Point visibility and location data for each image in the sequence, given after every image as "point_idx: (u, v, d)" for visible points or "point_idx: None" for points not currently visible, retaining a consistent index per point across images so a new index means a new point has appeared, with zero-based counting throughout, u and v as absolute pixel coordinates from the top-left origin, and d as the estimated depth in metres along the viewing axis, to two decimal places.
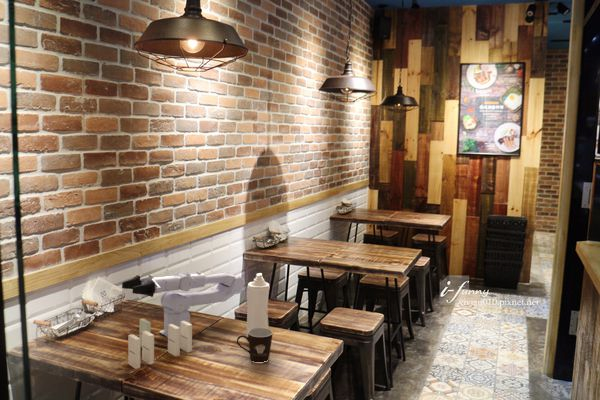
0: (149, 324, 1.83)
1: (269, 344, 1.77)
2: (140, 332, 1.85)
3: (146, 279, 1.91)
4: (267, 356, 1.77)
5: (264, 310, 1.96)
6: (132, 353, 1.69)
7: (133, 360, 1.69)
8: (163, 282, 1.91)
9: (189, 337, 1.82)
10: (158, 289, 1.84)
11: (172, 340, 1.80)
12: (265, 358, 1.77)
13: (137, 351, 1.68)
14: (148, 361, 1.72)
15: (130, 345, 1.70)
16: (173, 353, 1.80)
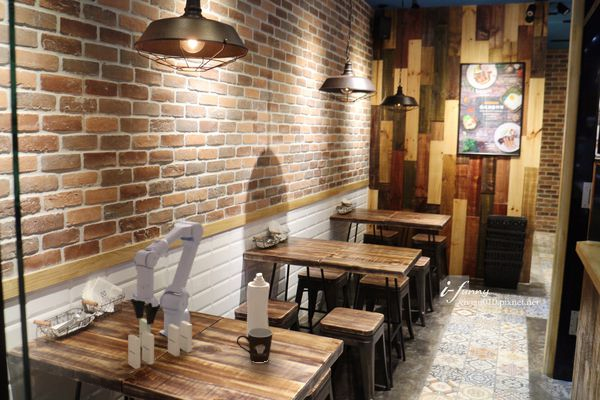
0: None
1: (269, 344, 1.77)
2: (140, 332, 1.85)
3: None
4: (267, 356, 1.77)
5: (264, 310, 1.96)
6: (132, 353, 1.69)
7: (133, 360, 1.69)
8: (145, 288, 1.80)
9: (189, 337, 1.82)
10: (155, 304, 1.78)
11: (172, 340, 1.80)
12: (265, 358, 1.77)
13: (137, 351, 1.68)
14: (148, 361, 1.72)
15: (130, 345, 1.70)
16: (173, 353, 1.80)
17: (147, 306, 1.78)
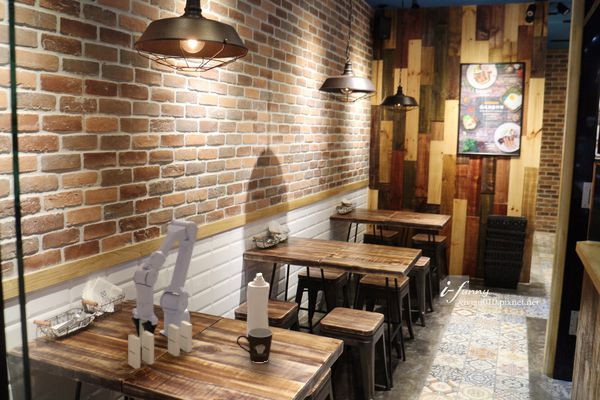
0: None
1: (269, 344, 1.77)
2: (140, 332, 1.85)
3: None
4: (267, 356, 1.77)
5: (264, 310, 1.96)
6: (132, 353, 1.69)
7: (133, 360, 1.69)
8: (145, 306, 1.81)
9: (189, 337, 1.82)
10: (154, 322, 1.79)
11: (172, 340, 1.80)
12: (265, 358, 1.77)
13: (137, 351, 1.68)
14: (148, 361, 1.72)
15: (130, 345, 1.70)
16: (173, 353, 1.80)
17: (145, 323, 1.80)
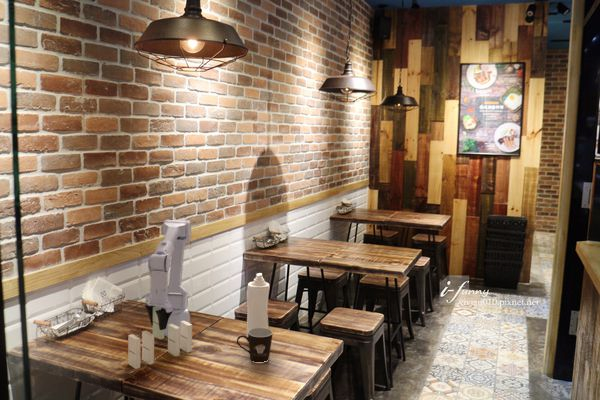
0: None
1: (269, 344, 1.77)
2: (153, 320, 1.78)
3: None
4: (267, 356, 1.77)
5: (264, 310, 1.96)
6: (132, 353, 1.69)
7: (133, 360, 1.69)
8: (159, 293, 1.74)
9: (189, 337, 1.82)
10: (169, 310, 1.72)
11: (172, 340, 1.80)
12: (265, 358, 1.77)
13: (137, 351, 1.68)
14: (148, 361, 1.72)
15: (130, 345, 1.70)
16: (173, 353, 1.80)
17: (159, 311, 1.73)
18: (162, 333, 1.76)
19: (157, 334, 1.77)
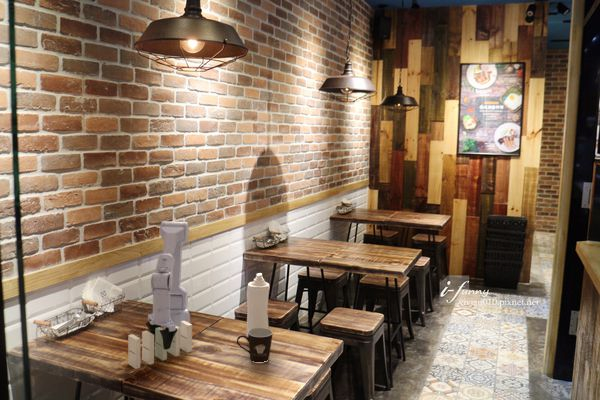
0: None
1: (269, 344, 1.77)
2: (156, 341, 1.78)
3: None
4: (267, 356, 1.77)
5: (264, 310, 1.96)
6: (132, 353, 1.69)
7: (133, 360, 1.69)
8: (162, 312, 1.73)
9: (189, 337, 1.82)
10: (172, 329, 1.71)
11: (172, 340, 1.80)
12: (265, 358, 1.77)
13: (137, 351, 1.68)
14: (148, 361, 1.72)
15: (130, 345, 1.70)
16: (173, 353, 1.80)
17: (164, 331, 1.72)
18: (165, 354, 1.76)
19: (160, 355, 1.77)
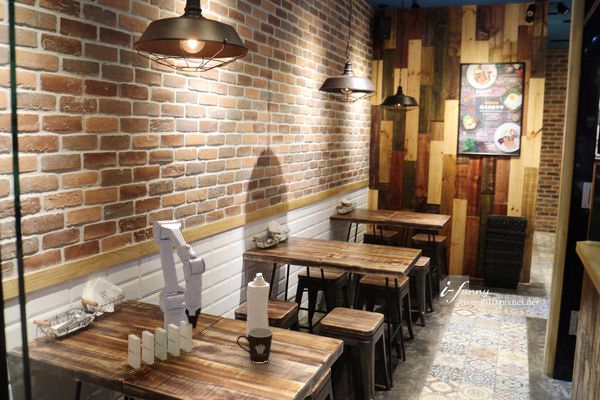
0: (166, 333, 1.75)
1: (269, 344, 1.77)
2: (156, 341, 1.78)
3: None
4: (267, 356, 1.77)
5: (264, 310, 1.96)
6: (132, 353, 1.69)
7: (133, 360, 1.69)
8: (189, 295, 1.82)
9: (189, 337, 1.82)
10: (191, 313, 1.78)
11: (172, 340, 1.80)
12: (265, 358, 1.77)
13: (137, 351, 1.68)
14: (148, 361, 1.72)
15: (130, 345, 1.70)
16: (173, 353, 1.80)
17: (187, 310, 1.83)
18: (165, 354, 1.76)
19: (160, 355, 1.77)
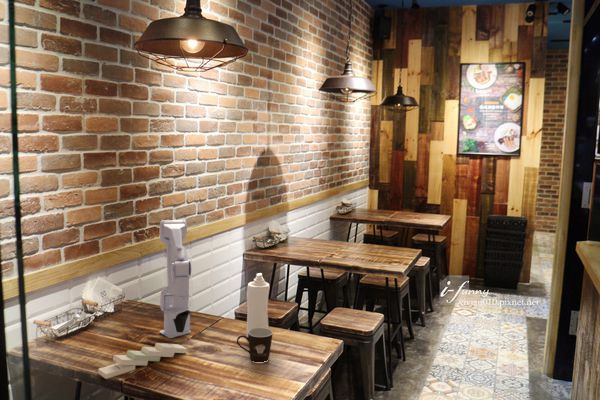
0: (137, 356, 1.68)
1: (269, 344, 1.77)
2: None
3: None
4: (267, 356, 1.77)
5: (264, 310, 1.96)
6: None
7: None
8: (174, 298, 1.79)
9: (173, 351, 1.78)
10: (171, 316, 1.74)
11: None
12: (265, 358, 1.77)
13: (118, 373, 1.64)
14: None
15: None
16: None
17: None
18: (155, 358, 1.74)
19: None
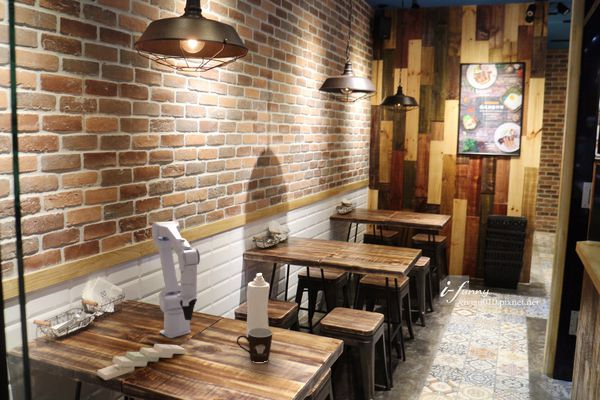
0: (136, 357, 1.67)
1: (269, 344, 1.77)
2: None
3: None
4: (267, 356, 1.77)
5: (264, 310, 1.96)
6: None
7: None
8: (183, 286, 1.82)
9: (172, 351, 1.78)
10: (184, 304, 1.78)
11: None
12: (265, 358, 1.77)
13: (117, 374, 1.63)
14: None
15: None
16: None
17: (182, 301, 1.84)
18: (154, 358, 1.73)
19: None
